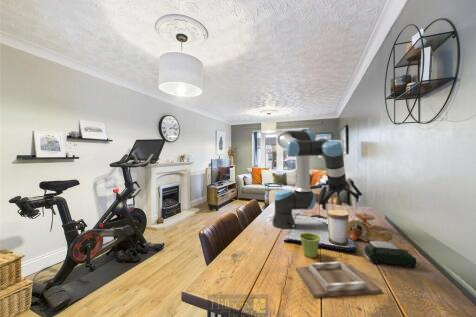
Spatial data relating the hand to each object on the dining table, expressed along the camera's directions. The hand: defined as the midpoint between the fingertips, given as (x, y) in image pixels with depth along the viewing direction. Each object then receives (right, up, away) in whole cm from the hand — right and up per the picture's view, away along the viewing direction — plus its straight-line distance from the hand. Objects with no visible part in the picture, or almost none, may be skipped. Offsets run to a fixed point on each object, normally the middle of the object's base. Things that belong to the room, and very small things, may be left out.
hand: (340, 211), depth 98 cm
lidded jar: (+32, -19, +31) cm, 49 cm away
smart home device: (+11, -20, +46) cm, 51 cm away
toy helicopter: (+19, -19, +9) cm, 29 cm away
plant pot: (-17, -20, -4) cm, 26 cm away
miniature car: (+15, -20, -11) cm, 27 cm away
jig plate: (-15, -20, -24) cm, 34 cm away
